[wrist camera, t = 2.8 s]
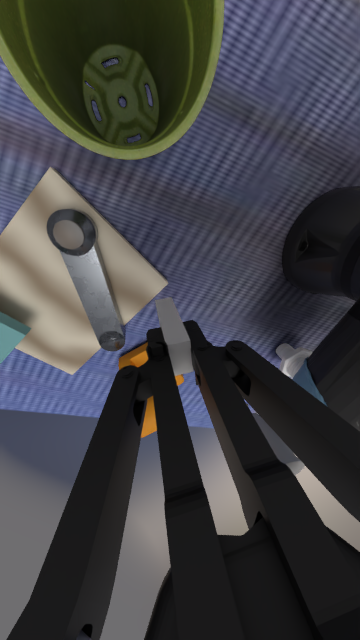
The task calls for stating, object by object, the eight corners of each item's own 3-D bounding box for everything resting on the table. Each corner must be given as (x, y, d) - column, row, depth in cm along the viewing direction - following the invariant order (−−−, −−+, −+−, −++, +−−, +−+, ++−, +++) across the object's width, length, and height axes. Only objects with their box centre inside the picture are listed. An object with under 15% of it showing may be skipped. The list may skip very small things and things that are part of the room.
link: (47, 211, 20) (37, 212, 18) (90, 206, 21) (85, 206, 19) (102, 343, 30) (100, 354, 28) (131, 337, 30) (130, 347, 28)
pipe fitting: (266, 364, 43) (290, 393, 36) (271, 338, 39) (300, 365, 33) (291, 358, 44) (320, 386, 37) (299, 332, 40) (333, 358, 33)
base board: (55, 169, 20) (33, 159, 16) (166, 279, 29) (173, 293, 24) (-48, 308, 25) (-88, 331, 20) (74, 368, 33) (65, 393, 29)
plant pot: (108, -54, 15) (63, -532, 5) (203, 116, 20) (263, 40, 11) (23, 89, 17) (-114, -54, 8) (128, 204, 23) (125, 204, 14)
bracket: (182, 371, 39) (199, 429, 29) (151, 387, 40) (158, 450, 29) (155, 334, 33) (164, 391, 23) (119, 354, 34) (113, 418, 24)
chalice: (236, 363, 41) (296, 456, 26) (250, 377, 44) (310, 467, 29) (208, 382, 42) (250, 482, 27) (224, 395, 46) (269, 489, 31)
